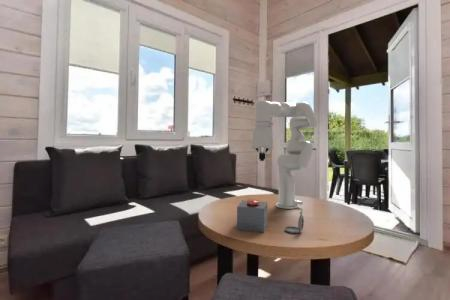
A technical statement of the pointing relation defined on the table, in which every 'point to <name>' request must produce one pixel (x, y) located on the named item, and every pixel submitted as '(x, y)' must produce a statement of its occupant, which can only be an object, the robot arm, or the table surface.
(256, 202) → the lynch pin
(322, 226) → the table surface
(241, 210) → the block
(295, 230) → the pocket watch
